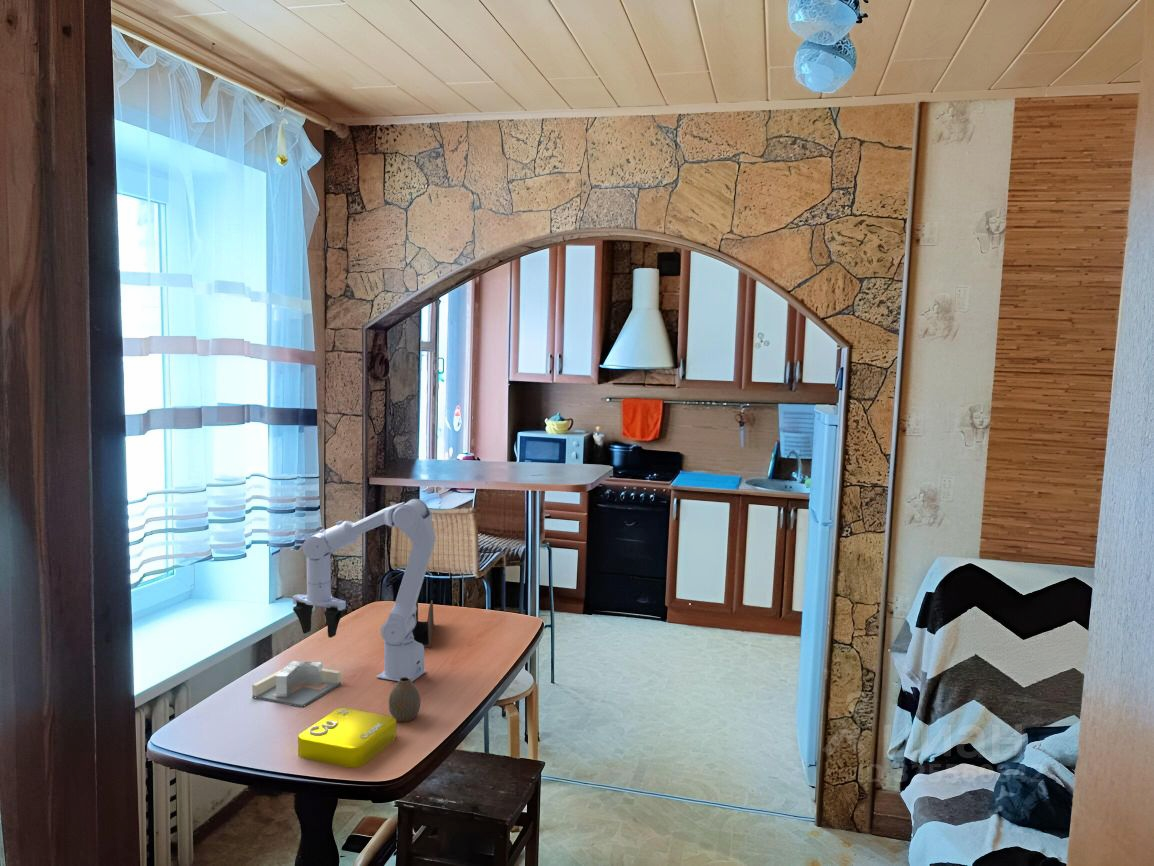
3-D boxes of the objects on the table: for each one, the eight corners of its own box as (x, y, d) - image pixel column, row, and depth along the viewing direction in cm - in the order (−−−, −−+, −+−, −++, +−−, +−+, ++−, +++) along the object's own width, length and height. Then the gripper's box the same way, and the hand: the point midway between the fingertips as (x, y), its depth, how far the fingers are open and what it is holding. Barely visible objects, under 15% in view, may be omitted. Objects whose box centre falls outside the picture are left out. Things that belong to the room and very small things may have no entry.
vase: (393, 727, 166) (393, 687, 165) (385, 714, 172) (385, 676, 171) (424, 721, 169) (424, 682, 168) (415, 708, 175) (415, 671, 174)
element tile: (358, 771, 148) (358, 747, 148) (293, 757, 153) (293, 734, 153) (400, 737, 162) (400, 715, 162) (339, 725, 167) (339, 703, 167)
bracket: (308, 698, 178) (307, 677, 177) (276, 697, 178) (275, 675, 178) (322, 682, 187) (322, 662, 186) (292, 681, 187) (291, 661, 186)
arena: (340, 683, 188) (340, 671, 187) (302, 707, 174) (302, 694, 174) (293, 675, 192) (293, 663, 192) (252, 697, 179) (252, 684, 179)
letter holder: (393, 650, 211) (393, 599, 210) (399, 626, 230) (399, 579, 229) (430, 649, 212) (430, 599, 211) (433, 625, 232) (434, 579, 231)
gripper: (353, 580, 195) (353, 632, 196) (305, 574, 200) (306, 625, 201) (335, 587, 188) (336, 642, 189) (286, 581, 193) (287, 634, 194)
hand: (319, 634), depth 195 cm, fingers open, 7 cm apart
